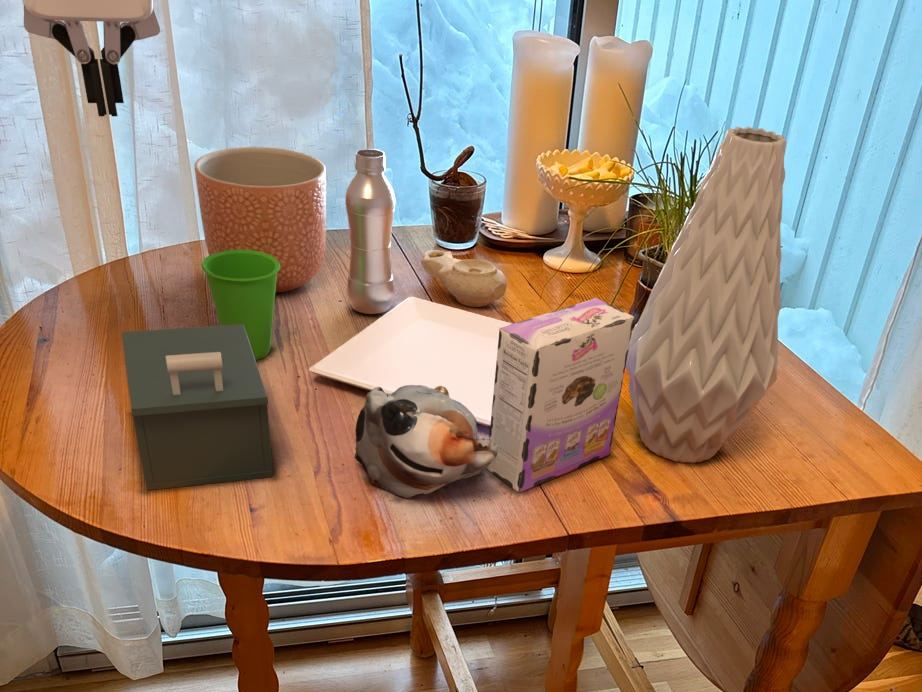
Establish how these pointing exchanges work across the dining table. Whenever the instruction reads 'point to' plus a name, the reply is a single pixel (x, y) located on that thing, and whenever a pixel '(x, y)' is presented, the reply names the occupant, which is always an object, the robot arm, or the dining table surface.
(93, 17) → the robot arm
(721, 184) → the vase
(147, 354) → the lid
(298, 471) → the dining table surface
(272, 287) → the cup
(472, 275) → the oil lamp
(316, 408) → the dining table surface
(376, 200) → the silver metal bottle
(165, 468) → the chest
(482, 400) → the plate
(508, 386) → the candy box
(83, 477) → the dining table surface
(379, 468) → the lucky cat figurine
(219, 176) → the planter
